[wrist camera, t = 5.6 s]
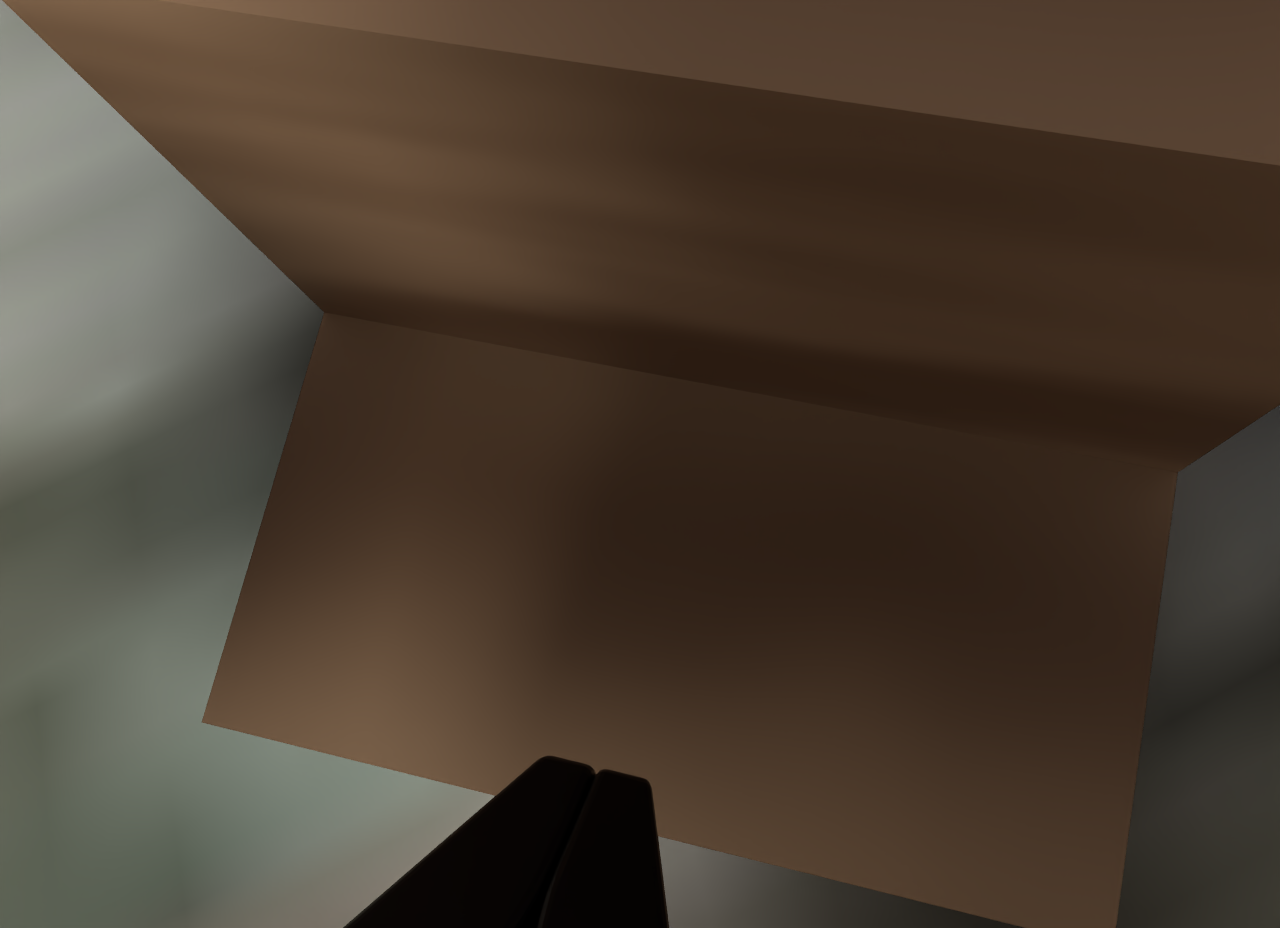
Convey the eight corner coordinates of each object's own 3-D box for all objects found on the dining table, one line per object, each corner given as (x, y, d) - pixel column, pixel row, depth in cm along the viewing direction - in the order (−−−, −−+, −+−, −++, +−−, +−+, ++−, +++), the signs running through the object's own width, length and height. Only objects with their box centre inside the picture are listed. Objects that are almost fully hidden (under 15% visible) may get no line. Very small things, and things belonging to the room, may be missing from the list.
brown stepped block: (1054, 914, 14) (1508, 1186, 5) (289, 725, 16) (-309, 702, 7) (1217, -199, 17) (1666, -1142, 9) (569, -265, 19) (400, -1125, 10)
